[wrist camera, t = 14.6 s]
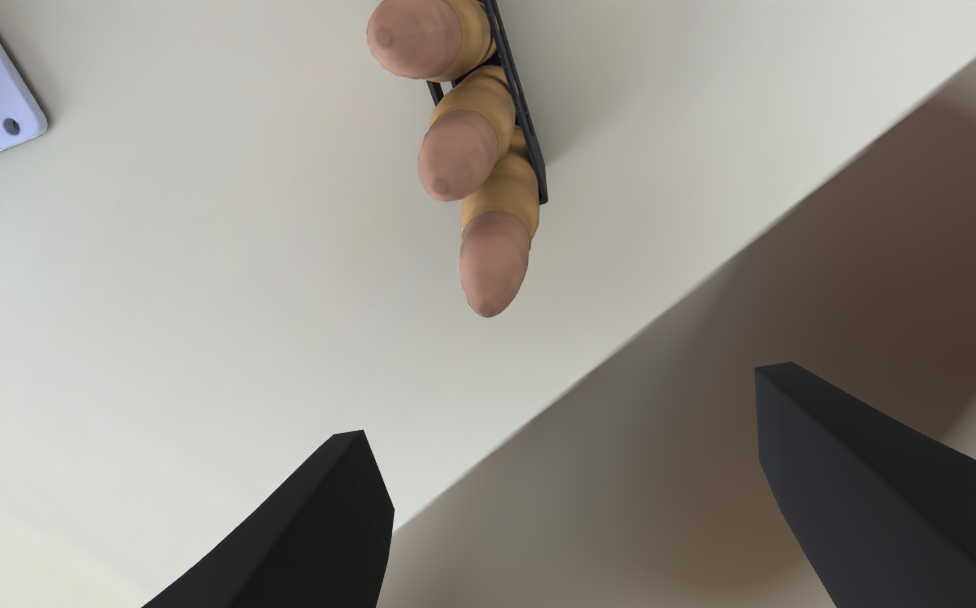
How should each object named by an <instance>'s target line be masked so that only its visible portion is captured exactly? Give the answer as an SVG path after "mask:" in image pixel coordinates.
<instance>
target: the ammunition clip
mask: <svg viewBox="0 0 976 608" xmlns="http://www.w3.org/2000/svg"><path fill="white" fill-rule="evenodd" d="M367 43H368V45H369V48H370V50H371V53H372V55H373V57H374V58H375V59H376V60H377V61H378V63H379V64H380V65H381V66H382V67H383V68H385V69H387V70H388V71H390V72H391V73H393V74H395V75H397V76H402V77H406V78H411V79H423V80H426V81H427V84H428V87H429V90H430V92H431V95H432V98H433V101H434V103H435V106H436V107H435V109H434V111H433V114H432V117H431V120H430V123H429V131H428V132H427V133H426V135H425V137H424V140H423V143H422V146H421V149H420V152H419V156H418V172H419V177H420V179H421V182H422V184H423V187H424V189H425V190H426V192H427V193H428V194H429V195H430V196H431V197H433V198H435V199H437V200H439V201H444V202H449V201H455V200H461V199H463V198H465V199H464V202H463V204H462V208H461V225H462V228H463V233H462V244H461V249H460V279H461V284H462V288H463V290H464V293H465V295H466V298H467V300H468V303H469V305H470V306H471V307H472V309H473V310H474V311H475V312H476V313H477V314H479V315H481V316H482V317H493V316H495V315H497V314H500V313H501V312H502V311H504V309H505V308H506V307H507V306H508V305H509V304H510V303H511V302H512V300H513V299H514V298H515V296H516V295H517V293H518V291H519V289H520V286H521V284H522V282H523V280H524V277H525V274H526V270H527V266H528V256H529V251H530V248H531V240H532V239H533V237H534V234H535V232H536V230H537V228H538V223H539V205H542V204H545V203H547V202H548V194H547V183H546V172H545V164H544V161H543V157H542V154H541V151H540V147H539V144H538V141H537V137H536V134H535V131H534V127H533V124H532V121H531V117H530V114H529V111H528V107H527V104H526V100H525V97H524V94H523V90H522V87H521V84H520V80H519V77H518V74H517V70H516V67H515V64H514V60H513V57H512V54H511V50H510V47H509V43H508V40H507V37H506V33H505V30H504V27H503V23H502V20H501V17H500V13H499V10H498V7H497V3H496V0H385V1H383V2H382V3H380V4H379V5H378V7H377V8H376V10H375V11H374V13H373V14H372V15H371V17H370V19H369V23H368V27H367ZM446 81H451V84H452V87H453V89H452V90H451V91H450V92H449V93H447V94H446V95H445V96H444V94H443V91H442V89H441V86H440V83H439V82H446Z"/></svg>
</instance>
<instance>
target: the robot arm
mask: <svg viewBox="0 0 976 608" xmlns="http://www.w3.org/2000/svg"><path fill="white" fill-rule="evenodd" d="M13 120H15V121H16V122H17V123H18V125H19V127H20V132H19V131H18V130H17V129H16V128H15V127H14V124H13ZM47 127H48V125H47V119H46V117H45V115H44V113H43V112H42V110H41V108H40V107H39V105H38V104H37V102H36V100H35V99H34V97H33V96H32V94H31V92H30V91H29V89H28V88H27V86H26V84H25V83H24V81H23V80H22V78H21V76H20V75H19V73H18V71H17V70H16V68H15V67H14V65H13V63H12V62H11V60H10V59H9V57H8V55H7V54H6V52H5V51H4V49H3V47H2V46H1V44H0V152H1V151H3V150H6V149H8V148H11V147H13V146H16V145H18V144H21V143H23V142H26V141H28V140H31V139H33V138H35V137H38V136H40V135H42V134H44V133H45V132H46V130H47ZM755 387H756V407H757V426H758V445H759V446H758V447H759V461H760V463H761V466H762V468H763V471H764V473H765V475H766V478H767V480H768V483H769V485H770V487H771V490H772V492H773V494H774V496H775V499H776V501H777V503H778V506H779V507H780V510H781V513H782V514H783V516H784V518H785V520H786V521H787V523H788V525H789V527H790V528H791V530H792V532H793V534H794V535H795V537H796V539H797V541H798V542H799V544H800V546H801V547H802V549H803V551H804V553H805V554H806V556H807V558H808V560H809V561H810V563H811V564H812V566H813V568H814V570H815V571H816V573H817V575H818V577H819V578H820V580H821V582H822V583H823V585H824V587H825V588H826V590H827V592H828V594H829V595H830V597H831V599H832V601H833V602H834V604H835V605H836V607H837V608H976V460H975V459H973V458H971V457H969V456H967V455H965V454H963V453H960V452H958V451H956V450H954V449H952V448H950V447H948V446H946V445H944V444H942V443H940V442H938V441H935V440H934V439H931V438H929V437H927V436H926V435H924V434H922V433H920V432H918V431H916V430H914V429H912V428H910V427H908V426H906V425H904V424H902V423H900V422H898V421H897V420H895V419H893V418H891V417H889V416H887V415H886V414H884V413H882V412H880V411H878V410H876V409H874V408H873V407H871V406H869V405H867V404H866V403H864V402H862V401H860V400H859V399H857V398H855V397H853V396H851V395H850V394H848V393H846V392H845V391H843V390H841V389H839V388H837V387H836V386H834V385H832V384H830V383H829V382H827V381H825V380H823V379H822V378H820V377H818V376H817V375H815V374H813V373H811V372H810V371H808V370H806V369H804V368H802V367H801V366H799V365H797V364H795V363H793V362H787V363H781V364H773V365H767V366H761V367H755ZM394 511H395V509H394V507H393V504H392V502H391V499H390V496H389V494H388V491H387V489H386V486H385V484H384V481H383V479H382V476H381V473H380V471H379V468H378V466H377V463H376V461H375V458H374V455H373V453H372V450H371V448H370V445H369V443H368V440H367V438H366V435H365V432H364V430H358V431H352V432H345V433H339V434H334V435H333V436H331V437H330V438H329V439H328V440H327V441H326V442H324V443H323V444H322V445H321V446H320V447H319V448H318V449H317V450H316V451H315V452H314V453H313V454H312V455H311V456H310V457H309V458H308V459H307V460H306V461H305V462H304V463H303V464H302V465H301V466H300V467H299V468H298V469H297V470H296V471H295V472H294V473H293V474H291V475H290V476H289V477H288V478H287V479H286V480H285V481H284V482H283V483H282V484H281V485H280V486H279V487H278V488H277V489H276V490H275V491H274V492H273V493H272V494H271V495H270V496H269V497H268V498H267V499H266V500H265V501H264V502H263V503H262V504H261V505H260V506H259V507H258V508H257V509H256V510H255V511H254V512H253V513H252V514H251V515H250V516H248V517H247V518H246V519H245V520H244V521H243V522H242V523H241V524H240V525H239V526H238V527H236V528H235V529H234V530H233V531H232V532H231V533H230V534H229V535H228V536H227V537H226V538H224V539H223V540H222V541H221V542H220V543H219V544H218V545H217V546H216V547H215V548H214V549H212V550H211V551H210V552H209V553H208V554H207V555H206V556H205V557H203V558H202V559H201V560H200V561H199V562H198V563H197V564H195V565H194V566H193V567H192V568H191V569H189V570H188V571H187V572H186V573H185V574H183V575H182V576H181V577H180V578H178V579H177V580H176V581H175V582H173V583H172V584H171V585H170V586H168V587H167V588H166V589H165V590H163V591H162V592H161V593H160V594H158V595H157V596H156V597H154V598H153V599H152V600H151V601H149V602H148V603H147V604H145V605H144V606H143V607H141V608H376V605H377V601H378V597H379V593H380V590H381V586H382V581H383V578H384V574H385V571H386V566H387V562H388V557H389V550H390V544H391V537H392V528H393V520H394Z"/></svg>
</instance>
